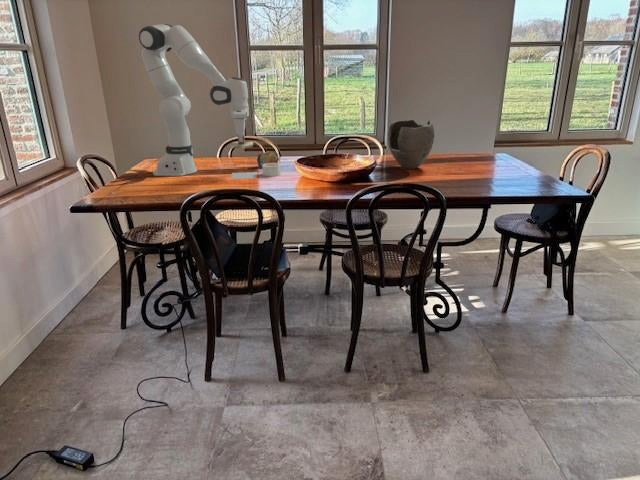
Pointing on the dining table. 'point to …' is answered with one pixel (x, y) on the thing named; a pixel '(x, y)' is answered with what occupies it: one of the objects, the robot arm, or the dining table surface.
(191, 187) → the dining table surface
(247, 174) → the mat
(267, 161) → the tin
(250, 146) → the lid
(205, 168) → the dining table surface
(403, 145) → the clay pot
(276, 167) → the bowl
